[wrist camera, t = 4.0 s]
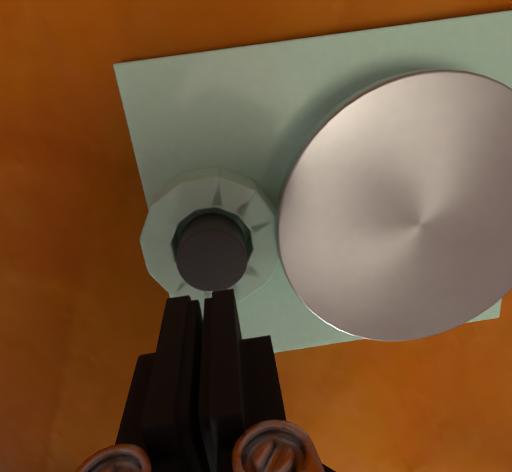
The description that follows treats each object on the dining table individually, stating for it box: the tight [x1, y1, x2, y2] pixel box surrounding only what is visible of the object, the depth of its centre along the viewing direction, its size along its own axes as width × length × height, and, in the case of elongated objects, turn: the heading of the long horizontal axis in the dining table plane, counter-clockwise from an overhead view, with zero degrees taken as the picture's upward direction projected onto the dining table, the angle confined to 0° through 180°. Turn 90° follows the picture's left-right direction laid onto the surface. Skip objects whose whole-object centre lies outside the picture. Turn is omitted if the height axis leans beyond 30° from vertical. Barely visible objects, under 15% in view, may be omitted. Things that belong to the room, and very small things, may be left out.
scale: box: [113, 10, 512, 353], centre depth 18 cm, size 16×14×3 cm
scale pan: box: [275, 69, 512, 341], centre depth 16 cm, size 11×11×1 cm
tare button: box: [176, 213, 248, 292], centre depth 16 cm, size 3×3×2 cm
